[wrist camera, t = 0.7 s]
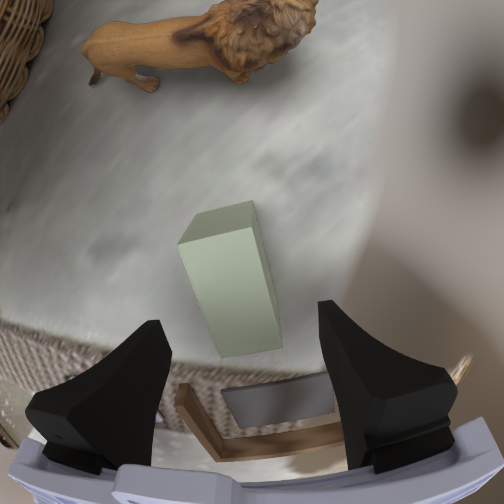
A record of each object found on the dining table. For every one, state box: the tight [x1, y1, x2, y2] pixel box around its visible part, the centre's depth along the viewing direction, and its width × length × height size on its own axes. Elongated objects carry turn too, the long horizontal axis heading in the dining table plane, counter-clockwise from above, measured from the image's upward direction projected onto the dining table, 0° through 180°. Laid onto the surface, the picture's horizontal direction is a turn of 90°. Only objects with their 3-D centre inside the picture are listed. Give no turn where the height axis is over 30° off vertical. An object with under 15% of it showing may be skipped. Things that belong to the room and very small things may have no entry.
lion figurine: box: [82, 0, 319, 92], centre depth 12 cm, size 15×5×9 cm, turn 97°
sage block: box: [177, 201, 283, 358], centre depth 19 cm, size 4×8×6 cm, turn 14°
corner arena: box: [174, 371, 345, 462], centre depth 27 cm, size 16×12×3 cm
